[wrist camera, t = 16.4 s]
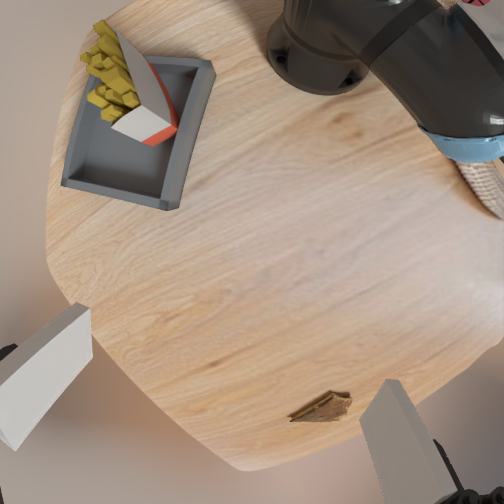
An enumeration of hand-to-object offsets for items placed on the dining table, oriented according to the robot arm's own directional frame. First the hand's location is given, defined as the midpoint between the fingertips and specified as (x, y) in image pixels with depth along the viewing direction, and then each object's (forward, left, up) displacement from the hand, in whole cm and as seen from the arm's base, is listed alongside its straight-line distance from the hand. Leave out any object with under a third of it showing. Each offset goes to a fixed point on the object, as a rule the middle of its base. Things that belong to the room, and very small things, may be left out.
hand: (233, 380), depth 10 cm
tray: (-12, -20, -28) cm, 37 cm away
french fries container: (-15, -17, -27) cm, 36 cm away
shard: (+28, +22, -29) cm, 46 cm away
